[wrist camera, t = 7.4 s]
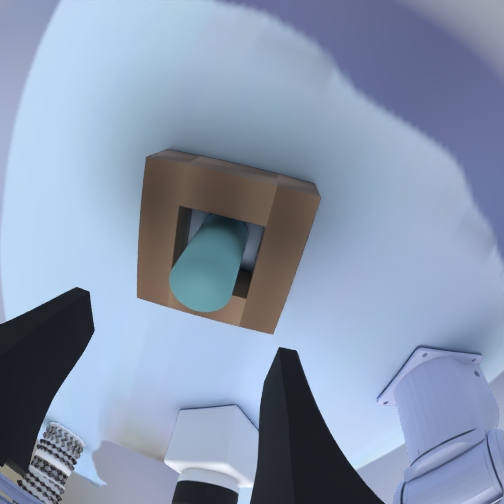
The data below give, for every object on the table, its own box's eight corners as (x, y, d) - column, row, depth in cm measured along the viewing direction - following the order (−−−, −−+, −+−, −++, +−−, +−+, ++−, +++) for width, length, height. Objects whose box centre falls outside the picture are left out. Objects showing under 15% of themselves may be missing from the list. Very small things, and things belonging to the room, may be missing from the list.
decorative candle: (89, 441, 40) (46, 540, 18) (84, 450, 44) (48, 536, 22) (48, 415, 39) (-1, 510, 16) (48, 427, 43) (7, 510, 20)
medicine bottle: (178, 408, 29) (148, 501, 18) (237, 403, 27) (217, 511, 16) (209, 438, 31) (190, 521, 21) (263, 434, 29) (252, 526, 19)
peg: (251, 217, 18) (236, 264, 13) (243, 259, 19) (228, 318, 14) (203, 207, 18) (170, 250, 13) (199, 250, 19) (168, 304, 14)
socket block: (314, 183, 17) (320, 197, 14) (275, 306, 21) (273, 334, 18) (167, 149, 17) (146, 156, 14) (153, 274, 21) (136, 297, 18)
